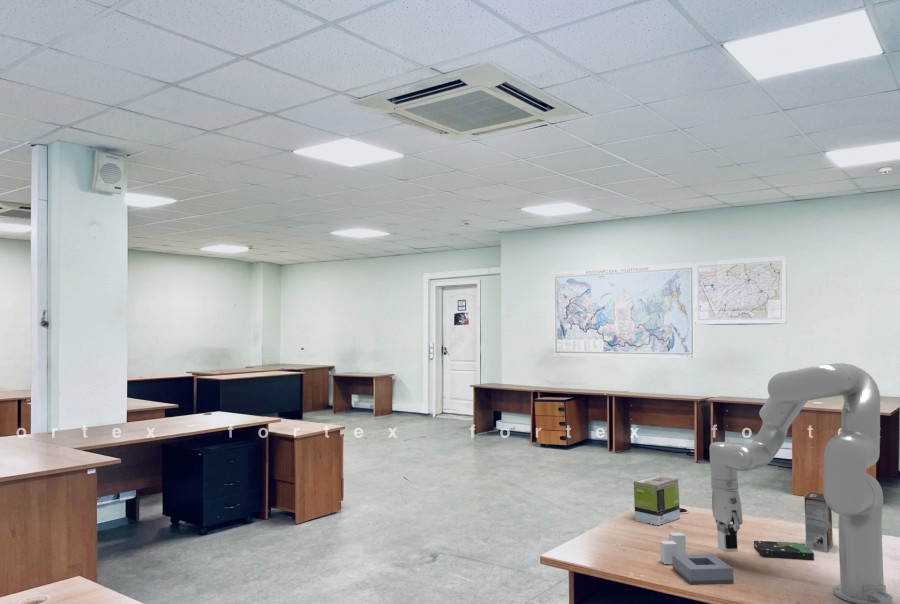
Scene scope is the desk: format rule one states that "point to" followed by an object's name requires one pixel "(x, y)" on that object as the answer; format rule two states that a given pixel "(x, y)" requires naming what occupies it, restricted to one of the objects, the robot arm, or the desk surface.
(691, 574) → the holder
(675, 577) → the desk surface
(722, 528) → the block
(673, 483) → the tea box
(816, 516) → the coffee box
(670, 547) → the pale grey post pair
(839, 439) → the robot arm
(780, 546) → the disk drive
